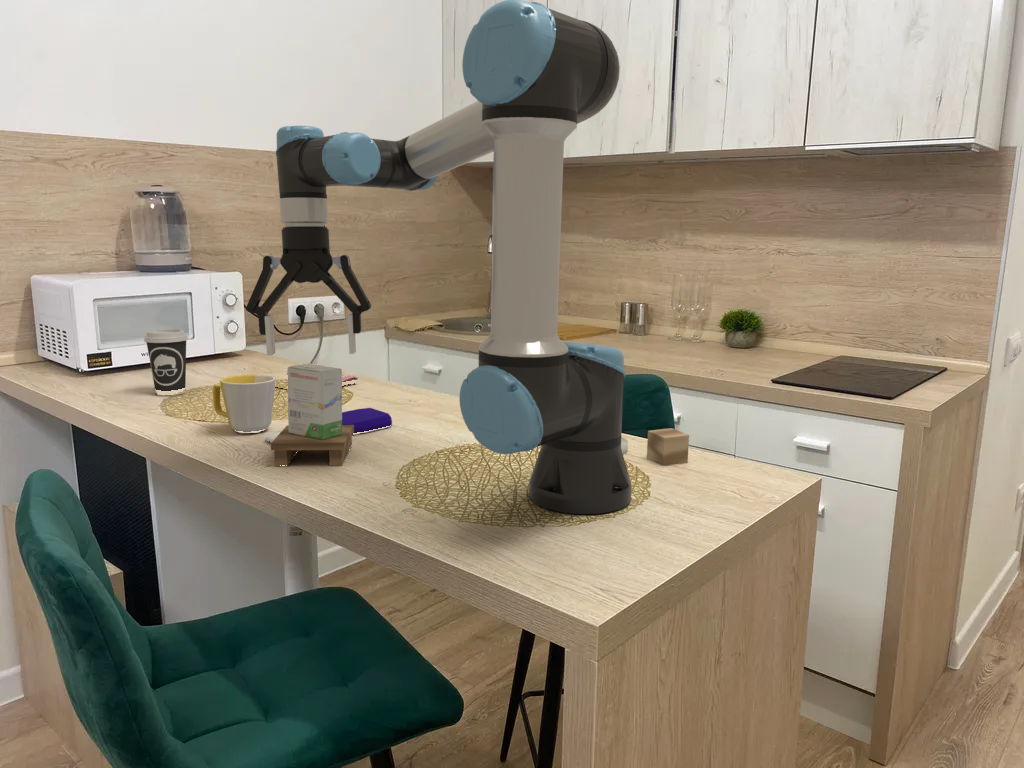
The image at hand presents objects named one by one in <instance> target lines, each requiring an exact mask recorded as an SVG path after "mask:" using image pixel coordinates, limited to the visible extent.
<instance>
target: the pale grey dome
mask: <svg viewBox="0 0 1024 768" xmlns="http://www.w3.org/2000/svg"><path fill="white" fill-rule="evenodd" d="M628 445H629V441H628V439H626V438H624V437H622V436H621V450H622V454H623V456H624V455H625V454H627V453H628V448H629V446H628Z"/></svg>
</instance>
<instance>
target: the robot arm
mask: <svg viewBox="0 0 1024 768" xmlns="http://www.w3.org/2000/svg"><path fill="white" fill-rule="evenodd" d="M461 64H462V77H463V81H464V83H465V85H466V88H468V89H469V92H470V94H471V95H472V96H473V98H475V99H476V101H475V102H473V103H471V104H469V105H467V106H465V107H463V108H460V109H459V110H457V111H455V112H453V113H451V114H449V115H447V116H444V117H443V118H441V119H439V120H437V121H436V122H434V123H431V124H429V125H427V126H425V127H424V128H421V129H420V130H417V131H415V132H414V133H412V134H410V135H408V136H406V137H404V138H402V139H400V140H399V139H398V140H387V139H379V138H378V139H377V138H370V137H369V136H368V135H367V134H364V133H363V132H347V131H344V132H340V133H336V134H333V135H326V136H324V131H323V130H322V129H321V128H319V127H316V126H310V125H286V126H285V125H284V126H282V127H280V128H278V129H277V132H276V150H275V156H276V166H277V179H278V180H277V182H278V193H279V208H280V209H279V210H280V213H279V214H280V223H282V224H284V227H282V228H281V244H282V255H281V257H278V256H273V255H265V256H263V259H262V269H261V273H260V274H259V277H258V279H257V281H256V283H255V286H254V289H253V291H252V293H251V295H250V298H249V300H248V303H247V305H246V306H245V307H246V308H245V309H246V312H248V313H252V314H255V315H256V316H257V317H258V329H259V330H258V331H259V334H260V335H261V336H265V342H266V343H265V345H266V355H267V356H273V355H274V354H276V340H275V339H276V338H275V326H274V325H275V324H274V323H275V322H274V314H269V312H270V311H271V310H272V308H273V307H274V306H275V305H276V304H277V302H278V301H279V300H280V298H281V297H282V296H283V294H284V293H285V292H286V291H287V289H289V287H290V286H291V285H292V284H293V282H296V283H298V284H303V283H306V282H307V283H312V284H313V283H314V284H315V283H320V282H321V281H322V282H323V283H324V285H326V286H327V287H328V288H329V289H330V290H331V292H332V293H333V294H335V296H336V297H337V298H338V299H339V300H340V302H342V303H343V304H344V306H345V307H346V308H347V309H348V310H349V311H350V313H349V314H348V315H347V334H348V352H349V355H355V353H357V344H356V334H360V333H361V332H362V316H361V315H362V313H364V312H367V311H369V310H371V308H372V304H371V302H370V300H369V298H368V297H367V294H366V293H365V291H364V290H363V287H362V286H361V284H360V282H359V280H358V278H357V277H356V274H355V273H354V271H353V269H352V265H351V261H350V256H349V255H347V254H342V255H340V256H332V255H331V250H330V232H329V230H330V229H329V228H328V227H327V226H326V225H325V224H327V223H328V222H329V213H328V193H327V187H339V186H340V187H343V186H344V187H345V186H347V187H361V188H362V187H363V188H380V189H382V188H383V189H391V190H392V189H394V190H404V191H410V192H411V191H417V190H427V189H430V188H431V187H432V186H434V184H435V182H436V181H437V180H438V178H439V176H440V175H443V174H444V173H447V172H449V171H451V170H454V169H456V168H459V167H461V166H463V165H465V164H468V163H471V162H473V161H475V160H477V159H480V158H482V157H484V156H486V155H488V154H491V153H493V168H492V169H493V170H492V171H493V172H492V173H493V177H492V180H493V181H492V228H491V229H492V231H491V232H492V234H491V235H492V236H491V238H492V240H491V243H492V244H491V289H490V291H491V293H490V294H491V298H490V304H491V305H490V332H489V333H490V334H489V335H487V337H486V338H485V339H484V340H483V341H482V342H481V343H480V344H479V345H478V366H477V367H476V368H474V369H472V370H471V371H469V373H468V374H467V376H466V378H465V379H463V380H462V383H461V386H460V390H459V408H460V412H461V416H462V419H463V421H464V423H465V425H466V427H467V429H468V431H469V432H471V433H472V434H473V437H474V439H475V440H476V441H477V442H478V444H480V445H482V446H483V447H484V448H486V449H487V450H489V451H491V452H494V453H497V454H501V455H511V454H517V453H523V452H529V451H533V450H535V448H537V447H540V450H539V452H538V455H537V458H536V460H535V464H534V467H533V469H532V473H531V475H530V479H529V484H528V489H529V491H528V496H529V499H530V500H531V502H533V503H534V504H536V505H537V506H539V507H542V508H544V509H547V510H551V511H554V512H559V513H566V514H572V515H573V514H577V515H595V514H596V515H597V514H606V513H612V512H615V511H618V510H621V509H624V508H626V507H627V506H628V505H629V504H630V503H631V501H632V490H633V488H632V481H631V478H630V474H629V471H628V468H627V464H626V460H625V457H624V455H623V454H622V450H621V437H622V433H623V432H622V429H623V412H624V411H623V408H624V385H625V384H624V383H625V377H626V372H625V365H624V363H625V362H624V361H625V360H624V355H623V352H622V351H621V350H620V349H619V348H618V347H614V346H610V345H609V346H608V345H600V344H593V343H592V344H591V343H582V342H572V341H562V340H561V339H560V337H559V335H558V325H559V324H558V323H559V297H560V295H559V293H560V291H559V289H560V285H559V284H560V267H561V265H560V264H561V263H560V262H561V260H560V259H561V236H562V234H561V233H562V212H563V211H562V208H563V207H562V206H563V185H564V184H563V182H564V181H563V180H564V178H563V177H564V151H565V149H564V148H565V141H566V139H567V138H568V137H569V136H570V135H571V134H572V133H573V132H574V131H575V130H576V129H577V128H578V124H580V123H582V122H584V121H587V120H588V119H591V118H592V117H594V116H596V115H597V114H599V113H600V112H601V111H602V110H604V108H605V107H606V106H607V105H608V104H609V102H610V101H611V99H612V98H613V96H614V94H615V92H616V90H617V87H618V84H619V80H620V68H621V67H620V59H619V56H618V52H617V49H616V47H615V46H614V43H613V41H612V40H611V38H610V37H609V36H608V35H607V33H605V31H603V30H602V29H601V28H599V27H598V26H597V25H594V24H593V23H590V22H588V21H586V20H581V19H578V18H575V17H572V16H570V15H568V14H564V13H561V12H559V11H556V10H555V9H552V8H548V6H546V5H545V4H543V3H541V2H540V3H539V2H536V1H531V2H530V1H526V0H501V1H499V2H496V3H495V4H493V5H492V6H491V7H489V8H488V9H487V10H486V11H485V12H483V13H482V14H481V15H480V17H479V20H478V22H477V23H476V24H474V25H473V26H472V28H471V30H470V32H469V34H468V36H467V39H466V42H465V45H464V50H463V55H462V62H461ZM279 265H281V267H282V268H283V269H284V270H285V272H286V273H285V274H284V276H283V277H282V278H281V280H280V282H279V283H278V284H277V285H276V286H275V288H274V289H273V290H272V292H271V293H270V294H269V295H268V297H267V298H266V299H265V301H264V302H263V303H262V305H260V303H261V300H262V299H263V296H264V294H265V292H266V289H267V287H268V284H269V282H270V280H271V278H272V275H273V272H274V270H276V269H278V266H279ZM333 265H336V267H337V269H339V270H341V271H342V272H343V273H342V274H343V275H344V277H345V279H346V281H347V283H348V284H349V286H350V288H351V289H352V292H353V293H354V295H355V297H356V299H357V301H358V302H359V304H360V305H358V304H357V303H356V301H354V300H353V298H352V297H351V296H350V295H349V293H347V291H346V290H345V289H344V288H343V287H342V286H341V285H340V284H339V283H338V282H337V281H336V279H335V278H334V277H333V276H332V274H331V273H330V272H329V271H330V269H332V267H333Z"/></svg>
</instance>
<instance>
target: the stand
mask: <svg viewBox="0 0 1024 768" xmlns="http://www.w3.org/2000/svg"><path fill="white" fill-rule="evenodd" d="M280 432H281V433H280V434H279V435H278V436H277V437H276V438H275V439H274V440H273V442H272V443H271V442H270V451H273V453H274V455H273V456H274V467H275V466H280V465H281V466H282V465H285V466H286V465H288V464H289V462H290V461H291V460H292V461H293V459H294V458H295V457H294V455H295V454H296V452H297V451H298V450H299V451H329V454H328V455H329V467H342V466H343V464H344V463H345V461H344V460H346V459H345V458H347V457H348V455H349V453H350V451H349V449H350V447H351V445H352V446H353V442H352V441H353V439H352V437H353V436H354V435H353V433H354V425H342V434H341V435H337V436H333V437H330V438H327V439H324V440H321V439H316V438H311V437H307V436H302V435H297V434H292V433H289V430H288V424H287V425H286V426H285V427H284V428H283V429H282V430H281V431H280ZM352 435H353V436H352ZM351 448H352V447H351ZM350 450H351V449H350ZM299 451H298V452H299ZM348 452H349V453H348ZM347 454H348V455H347ZM296 455H297V454H296ZM296 455H295V456H296ZM346 456H347V457H346ZM293 457H294V458H293ZM292 458H293V459H292ZM292 461H291V462H292ZM291 462H290V463H291ZM343 462H344V463H343ZM289 465H290V464H289ZM289 465H288V466H289ZM331 465H333V466H331ZM339 465H340V466H339Z"/></svg>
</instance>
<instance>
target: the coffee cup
mask: <svg viewBox="0 0 1024 768" xmlns="http://www.w3.org/2000/svg"><path fill="white" fill-rule="evenodd" d="M188 340H189V336H188V335H187V334H186V333H185V330H184V329H180V328H179V329H178V328H177V329H175V328H166V329H165V328H164V329H153V330H147V332H146V336H144V339H143V342H145V343H146V347H147V352H148V358H149V363H150V369H151V374H152V380H153V385H154V390H155V389H156V390H161V391H171V390H178V389H182V388H185V387H186V384H187V383H186V379H187V378H186V375H187V374H186V371H187V341H188Z"/></svg>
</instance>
